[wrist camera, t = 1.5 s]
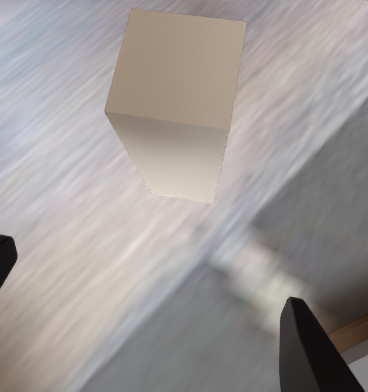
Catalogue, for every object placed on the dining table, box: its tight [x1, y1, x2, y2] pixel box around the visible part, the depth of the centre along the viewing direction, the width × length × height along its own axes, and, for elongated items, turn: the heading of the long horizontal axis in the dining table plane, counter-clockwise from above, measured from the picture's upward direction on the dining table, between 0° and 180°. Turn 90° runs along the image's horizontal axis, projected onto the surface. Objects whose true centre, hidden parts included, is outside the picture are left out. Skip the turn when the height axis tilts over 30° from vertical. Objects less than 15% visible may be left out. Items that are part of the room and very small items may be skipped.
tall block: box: [104, 8, 247, 204], centre depth 19 cm, size 5×5×13 cm
